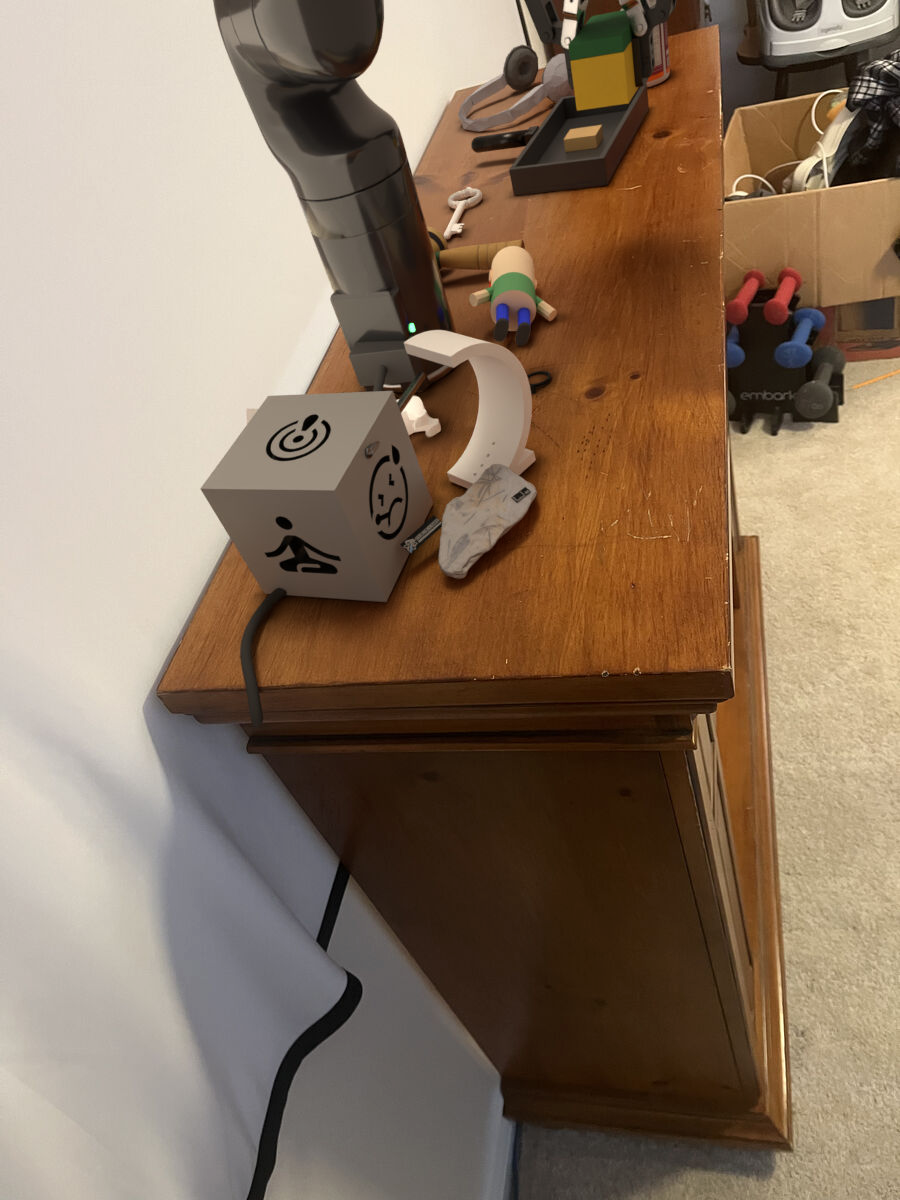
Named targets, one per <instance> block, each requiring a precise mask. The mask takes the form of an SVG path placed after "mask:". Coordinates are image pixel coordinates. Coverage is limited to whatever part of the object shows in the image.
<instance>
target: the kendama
mask: <svg viewBox="0 0 900 1200" xmlns="http://www.w3.org/2000/svg"><path fill="white" fill-rule="evenodd" d="M427 229H428V233H429V236H430V240H431V243H432V247H433V250H434V254H435V258H436V261H437V265H438V268H439V272H440V271H441V270H442V269H443V268H444V269H454V270H467V271H469V270H470V271H480V270H481V271H490V270H491V267H492V262H493V259H494V257H495V256H496V254H497V253H498V252H499V251H500V250H502V249H503V248H505V247H509V246H518V247H521V248H523V249H525V250H526V248H525V247H526V246H525V241H524V239H521V238H520V239H514V240H508V241H499V242H491V243H482V244H474V245H465V246H459V247H453V248H449V246H448V245H449V244H448V242H447V239H445V238H444V234H442V233H441V232H440V231H439V230H438V229H436V228H435V227H432V226H427Z"/></svg>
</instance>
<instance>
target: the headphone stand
mask: <svg viewBox="0 0 900 1200" xmlns="http://www.w3.org/2000/svg"><path fill="white" fill-rule="evenodd" d="M404 346H405V349H406V352H407V354H410V355H413V356H417V357H420V358H423V359H427V360H430V361H433V362H436V363H440V364H443V365H446V366H449V367H453V369H455V368H456V367H457V366H459V365H460V364H463V363H464V362H465V361H467V360H468V362H469V363H470V365H471V367H472V369H473V371H474V375H475V378H476V381H477V387H478V409H477V410H478V412H477V417H476V421H475V426H474V429H473V431H472V436H471V438H470V440H469V441H468V444H467V446H466V447H465V450H464V451H463V453H462V455H461V456H460V457H459V458H458V460H457V461H456V462H455V464H454V465H452V466H451V468H450V469H449V470H448V471H447V472H446V475H447V478H448V480H449V481H450V482H451V483H453V484H455V485H458V486H461V487H463V488H465V489H467V490H468V489H469V488H470V487H471V486H472V485H473V484H474V483H475V482H476V481H477V480H478V479H479V478H480V477H481V476H482V474H483V472H484V471H485V469H487V468H489V467H490V466H491V465H493V464H502V465H504V466H506V467H508V468H510V469H511V470H513V471H514V472H515V473H516V474H517V475H519V476H521V475H522V473H524V472H525V471H526V470H527V469H528V468H529V467H530V466H531V465H532V464H533V463H535V462H536V460H537V459H536V454H535V451H534V450H531V449H528V448H526V445H527V443H528V439H529V435H530V430H531V425H532V424H531V422H532V417H533V416H532V415H533V414H532V413H533V399H532V398H533V397H532V394H531V390H530V384H531V383H530V380H529V379H528V377H527V375H528V374H527V373H526V370H525V368H524V366H523V364H522V363H521V361H520V360H519V358H518V357H517V356H516V355H515V354H514V353H513V352H512V351H511V350H509V349H508V348H506V347H504V346H502V345H500V344H498V343H493V342H490V341H487V340H483V339H478V338H475V337H471V336H468V335H464V334H461V333H458V332H457V333H453V332H449V331H445V330H431V331H426V332H423V333H420V334H417V335H415V336H413V337H412V338H410V339H408V340H407V341H405V342H404Z"/></svg>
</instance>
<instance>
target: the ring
mask: <svg viewBox="0 0 900 1200" xmlns="http://www.w3.org/2000/svg"><path fill="white" fill-rule="evenodd" d="M526 375H527V377H528V380H529V379H530V378H532V377H535V376H538V375H539V376H540V375H542V376H546V378H545V379H544V380H542V381H539V382H537V383H529V384H530V390H531V395H532V394H537V392H538V391H537V389H538V388H541V387H544V386H546V385H547V384H549V383H550V382H551V381H552V374H551V372H549V371H546V370H538V371H533V372H530V373H528V374H526Z"/></svg>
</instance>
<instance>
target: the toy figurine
mask: <svg viewBox="0 0 900 1200" xmlns="http://www.w3.org/2000/svg"><path fill="white" fill-rule="evenodd" d="M535 276H536V275H535V265H534V260H533V258H532V256H531V254H530V253H529V252H528V251H527V250H526V248H525V249H523V248H521V247H518V246H509V247H505V248H503V249H502V250H500V251H499V252H498V253H497V254H496V256H495V257H494V259H493V262H492V267H491V270H489V273H488V287H486V288H484V289H481V290H478V291H475V292H473V293H470V294H469V296H468V302H469V304H470V305H471V306H472V307H478V306H481V305H483V304H486V303H490V307H489V309H490V311H489V312H490V317H491V320H492V322H493V323H494V329H493V335H492V336H493V339H494V341H496V342H498V343H499V342H500V343H502V342H504V341H505V339H506V338H507V335H508V332H515V336H514V340H515V341H514V343H515V344H516V345H517V346H521V347H523V346H526V345H527V343H528V342H529V339H530V336H531V332H532V329H531V328H532V327H531V325H532V322H533V321H534V320H535V318H536V314H537V313H538V314H539V315H540V316H542V317H543V318H545V320H547V321H549V322H551V321H553V320H554V319H555V318H556V316H557V314H558V310H557V309H555V308H554V307H552V305H550V304H548V303H547V302H546V301H545V300H543V299H542V298H540V297H539V296H538V295H536V290H537V286H538V281H537V279H536V278H535Z"/></svg>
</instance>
